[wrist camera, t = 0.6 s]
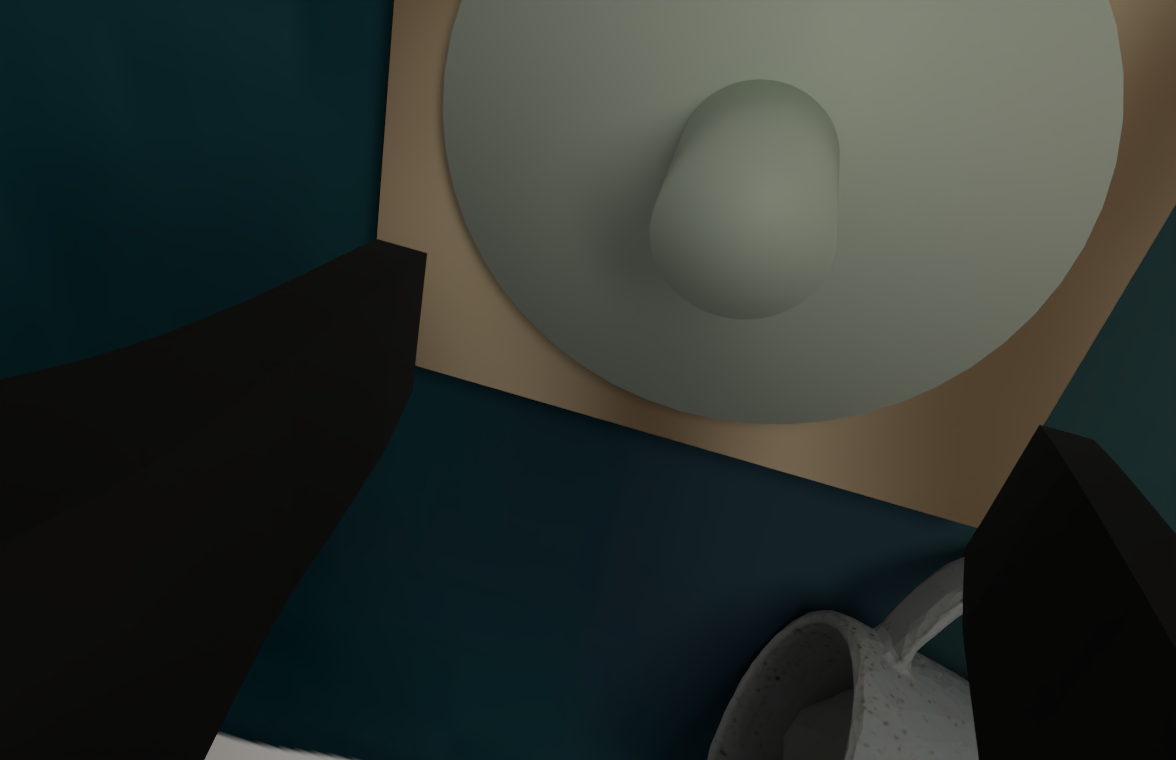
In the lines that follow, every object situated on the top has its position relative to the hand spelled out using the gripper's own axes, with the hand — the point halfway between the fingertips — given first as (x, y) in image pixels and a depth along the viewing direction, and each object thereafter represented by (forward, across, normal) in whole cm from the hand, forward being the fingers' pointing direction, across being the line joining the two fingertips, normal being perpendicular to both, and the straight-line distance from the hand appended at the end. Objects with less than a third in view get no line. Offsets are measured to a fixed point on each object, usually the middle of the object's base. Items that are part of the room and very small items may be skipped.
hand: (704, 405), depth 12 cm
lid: (+8, 0, 0) cm, 8 cm away
